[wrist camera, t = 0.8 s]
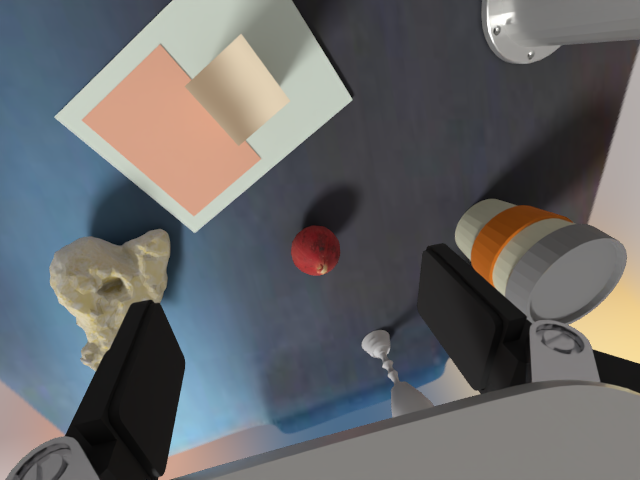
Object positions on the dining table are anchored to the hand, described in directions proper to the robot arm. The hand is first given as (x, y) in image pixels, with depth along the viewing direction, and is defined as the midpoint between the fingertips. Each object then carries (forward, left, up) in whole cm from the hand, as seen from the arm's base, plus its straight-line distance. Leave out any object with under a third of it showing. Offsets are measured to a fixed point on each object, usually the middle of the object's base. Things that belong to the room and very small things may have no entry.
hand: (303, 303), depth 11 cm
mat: (+1, -6, -26) cm, 27 cm away
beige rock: (+22, +3, -27) cm, 35 cm away
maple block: (-2, -6, -26) cm, 26 cm away
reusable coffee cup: (-17, +29, -27) cm, 43 cm away
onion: (+3, +12, -27) cm, 29 cm away
